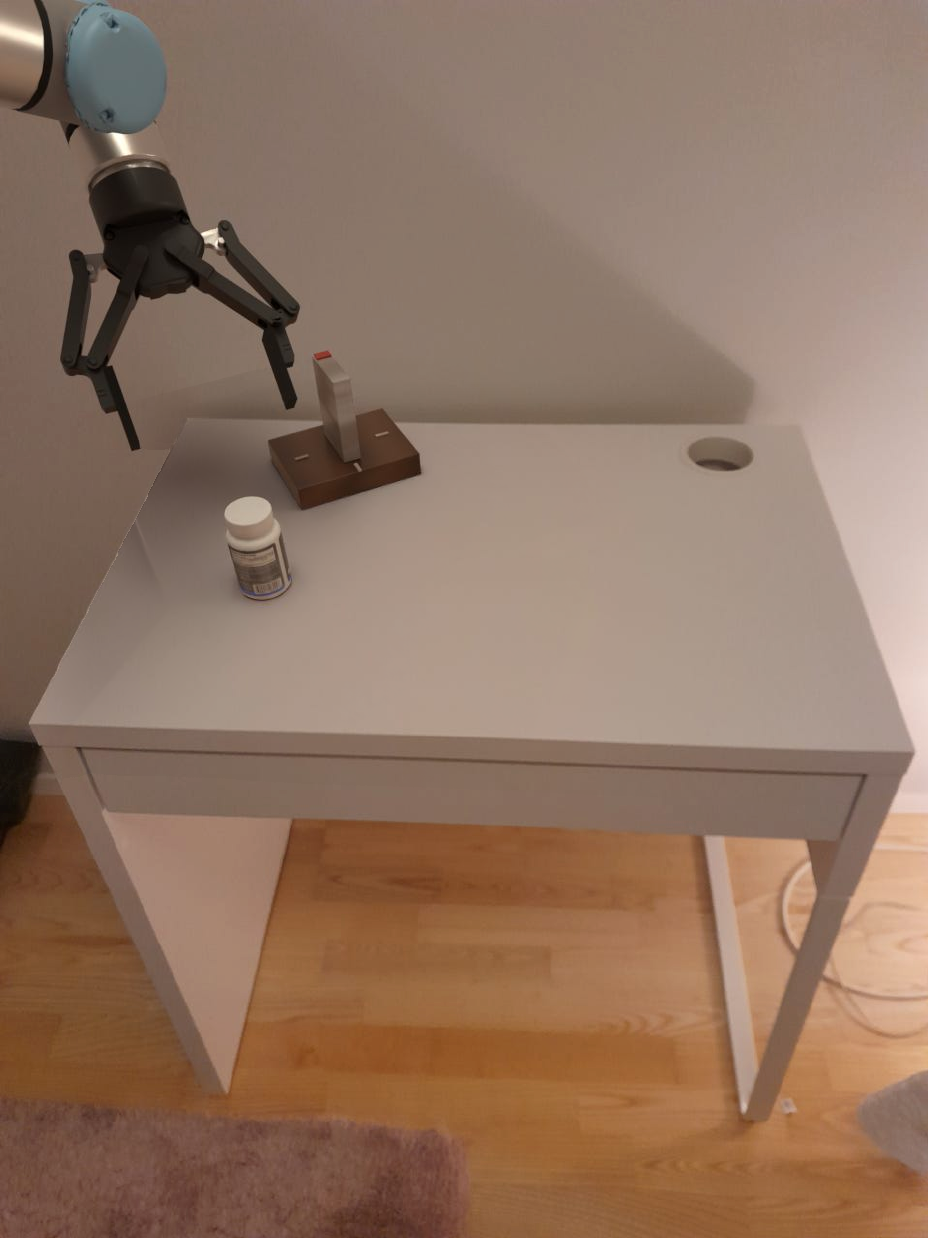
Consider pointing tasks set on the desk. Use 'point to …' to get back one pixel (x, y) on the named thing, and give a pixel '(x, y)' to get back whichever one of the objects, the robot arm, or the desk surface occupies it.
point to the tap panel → (323, 472)
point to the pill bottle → (257, 548)
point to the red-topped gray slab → (336, 406)
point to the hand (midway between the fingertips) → (215, 425)
